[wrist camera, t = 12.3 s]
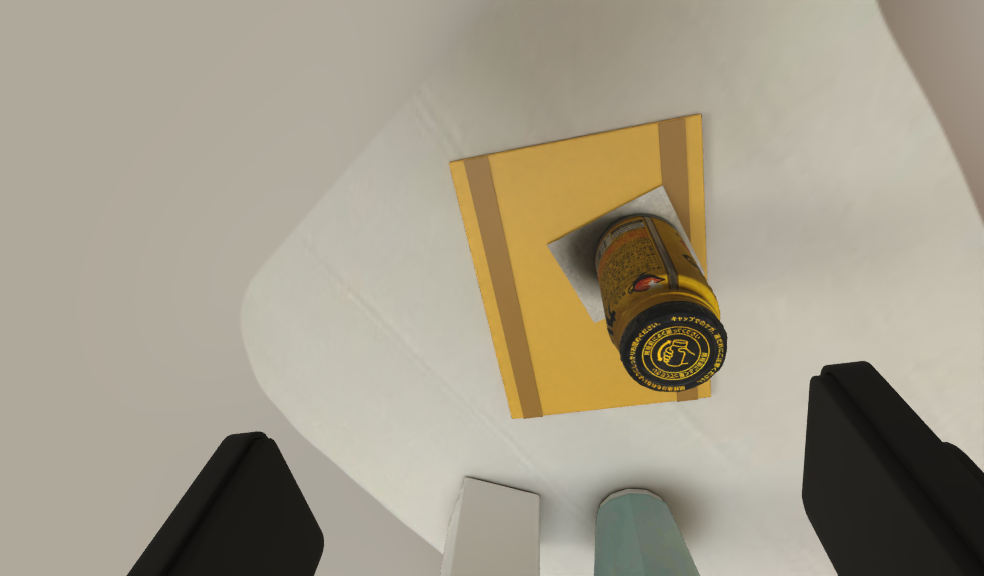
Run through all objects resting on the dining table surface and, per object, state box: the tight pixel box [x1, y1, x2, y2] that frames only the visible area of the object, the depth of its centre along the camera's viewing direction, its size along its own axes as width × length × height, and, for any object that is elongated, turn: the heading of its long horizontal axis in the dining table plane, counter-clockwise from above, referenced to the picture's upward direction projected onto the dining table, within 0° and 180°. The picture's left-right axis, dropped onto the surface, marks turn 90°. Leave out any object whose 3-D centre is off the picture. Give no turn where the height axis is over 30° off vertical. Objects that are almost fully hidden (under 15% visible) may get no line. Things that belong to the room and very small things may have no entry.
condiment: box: [547, 185, 727, 392], centre depth 32 cm, size 7×8×12 cm
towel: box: [449, 114, 711, 419], centre depth 39 cm, size 22×16×1 cm
